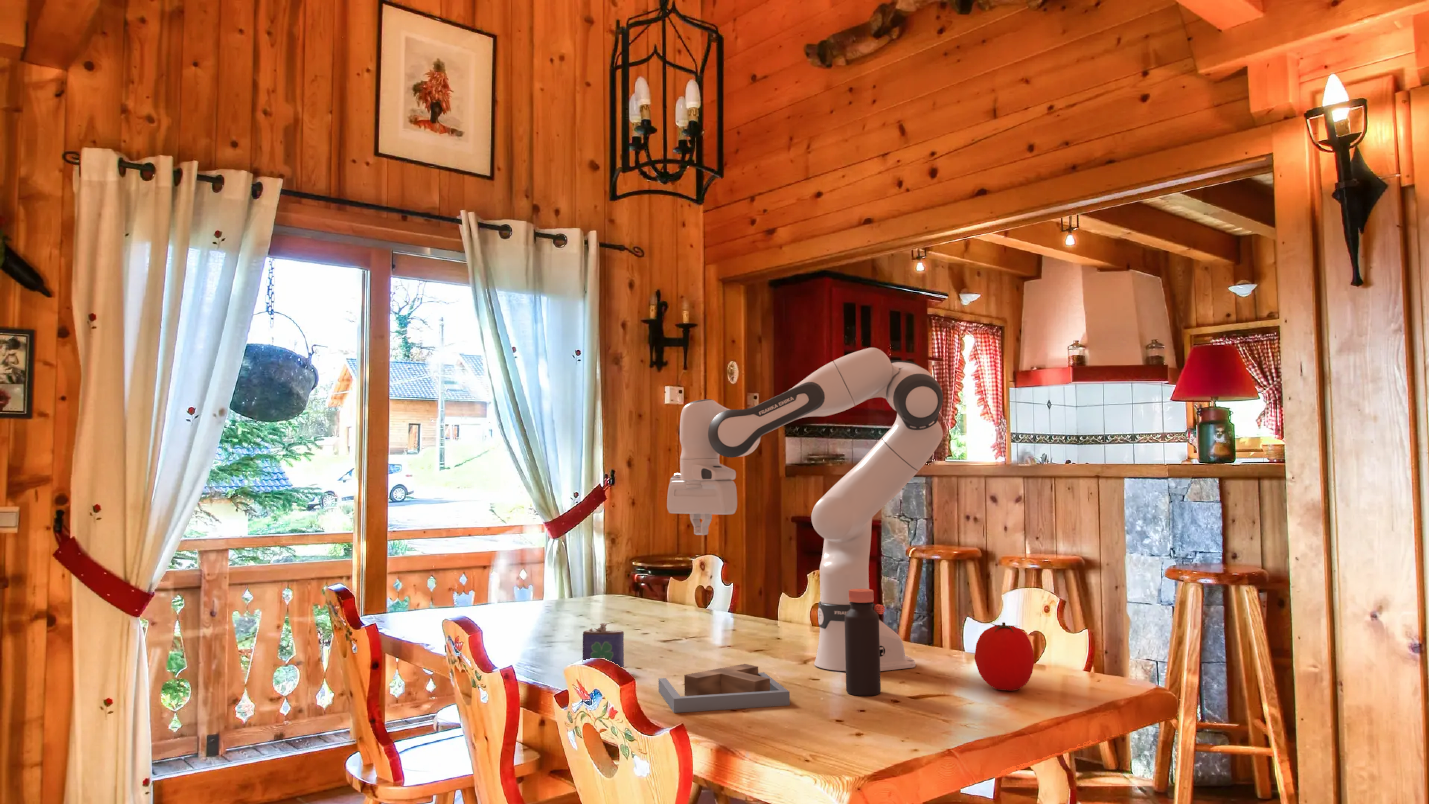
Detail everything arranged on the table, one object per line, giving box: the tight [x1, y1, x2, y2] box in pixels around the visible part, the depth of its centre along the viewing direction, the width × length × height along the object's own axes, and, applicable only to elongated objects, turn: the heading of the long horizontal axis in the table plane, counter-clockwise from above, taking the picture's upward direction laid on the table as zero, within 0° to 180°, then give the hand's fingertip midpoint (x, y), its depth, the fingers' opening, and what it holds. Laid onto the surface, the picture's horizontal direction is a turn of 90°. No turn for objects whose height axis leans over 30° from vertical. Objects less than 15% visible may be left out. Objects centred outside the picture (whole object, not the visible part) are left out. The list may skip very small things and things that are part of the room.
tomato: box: [974, 621, 1035, 692], centre depth 187 cm, size 12×12×13 cm
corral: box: [658, 671, 791, 714], centre depth 182 cm, size 22×18×2 cm
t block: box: [683, 663, 770, 696], centre depth 185 cm, size 16×14×4 cm
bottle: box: [845, 588, 882, 697], centre depth 186 cm, size 7×7×20 cm
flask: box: [582, 622, 625, 669], centre depth 208 cm, size 9×3×11 cm, turn 87°
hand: (701, 534), depth 208 cm, fingers closed
